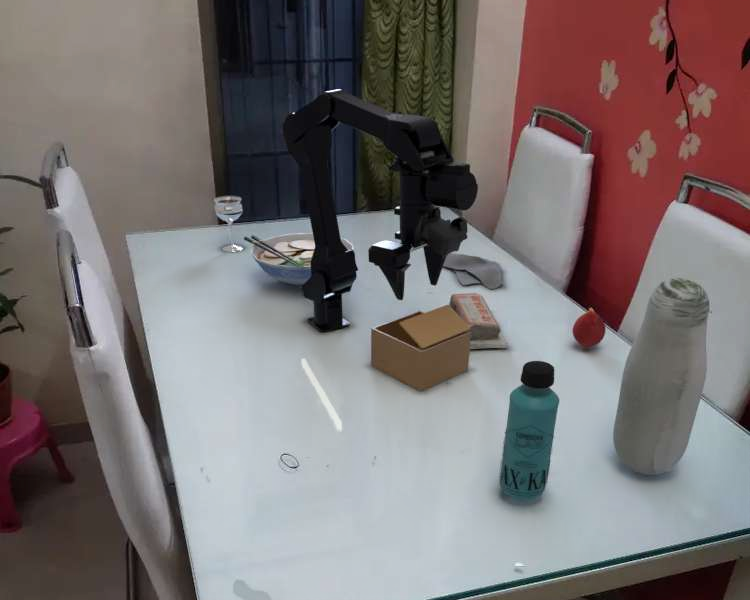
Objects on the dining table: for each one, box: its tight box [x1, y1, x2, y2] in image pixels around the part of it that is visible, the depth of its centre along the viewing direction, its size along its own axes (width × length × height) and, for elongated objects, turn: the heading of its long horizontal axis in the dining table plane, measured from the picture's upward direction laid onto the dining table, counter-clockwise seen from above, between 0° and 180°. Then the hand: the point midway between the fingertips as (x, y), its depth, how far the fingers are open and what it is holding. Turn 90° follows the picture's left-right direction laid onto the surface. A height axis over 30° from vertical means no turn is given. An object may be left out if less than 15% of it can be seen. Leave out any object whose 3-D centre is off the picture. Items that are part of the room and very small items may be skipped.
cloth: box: [442, 252, 503, 290], centre depth 182 cm, size 26×14×2 cm, turn 20°
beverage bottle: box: [498, 360, 560, 501], centre depth 103 cm, size 6×7×20 cm
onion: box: [572, 307, 607, 350], centre depth 145 cm, size 6×6×8 cm
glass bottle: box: [612, 277, 710, 476], centre depth 106 cm, size 10×10×28 cm
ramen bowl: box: [243, 232, 354, 287], centre depth 174 cm, size 25×23×8 cm
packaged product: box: [448, 292, 509, 350], centre depth 152 cm, size 18×5×10 cm
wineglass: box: [213, 195, 244, 253], centre depth 192 cm, size 7×7×12 cm
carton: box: [370, 310, 471, 392], centre depth 138 cm, size 13×12×7 cm
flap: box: [399, 304, 471, 349], centre depth 133 cm, size 6×12×1 cm, turn 132°
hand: (417, 292), depth 137 cm, fingers open, 9 cm apart
